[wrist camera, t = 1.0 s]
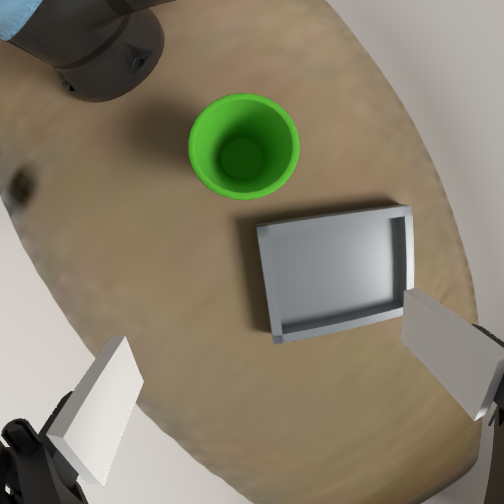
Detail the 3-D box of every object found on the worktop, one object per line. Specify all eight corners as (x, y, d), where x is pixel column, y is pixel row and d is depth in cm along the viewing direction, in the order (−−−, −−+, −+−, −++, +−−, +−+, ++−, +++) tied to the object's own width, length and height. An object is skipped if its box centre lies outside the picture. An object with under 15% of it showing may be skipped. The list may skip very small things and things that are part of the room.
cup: (242, 107, 31) (243, 72, 21) (296, 160, 33) (322, 146, 22) (187, 160, 32) (164, 146, 22) (242, 213, 34) (244, 223, 23)
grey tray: (254, 224, 34) (256, 227, 31) (399, 204, 35) (411, 205, 32) (271, 333, 37) (273, 344, 34) (402, 304, 38) (412, 312, 35)
